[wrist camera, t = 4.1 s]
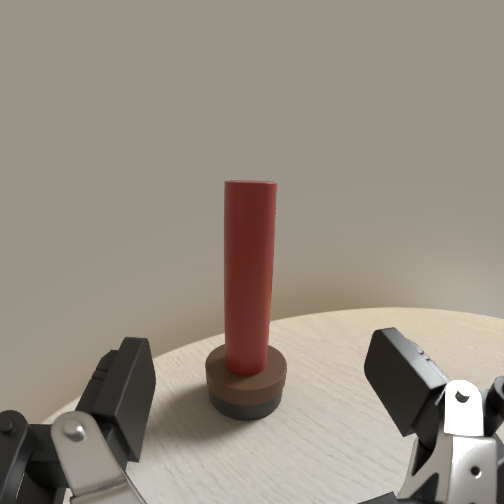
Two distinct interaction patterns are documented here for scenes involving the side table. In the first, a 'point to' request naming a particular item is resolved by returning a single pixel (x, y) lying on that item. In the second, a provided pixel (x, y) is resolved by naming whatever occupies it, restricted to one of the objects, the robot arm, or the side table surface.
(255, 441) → the side table surface
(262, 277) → the red peg on stand
